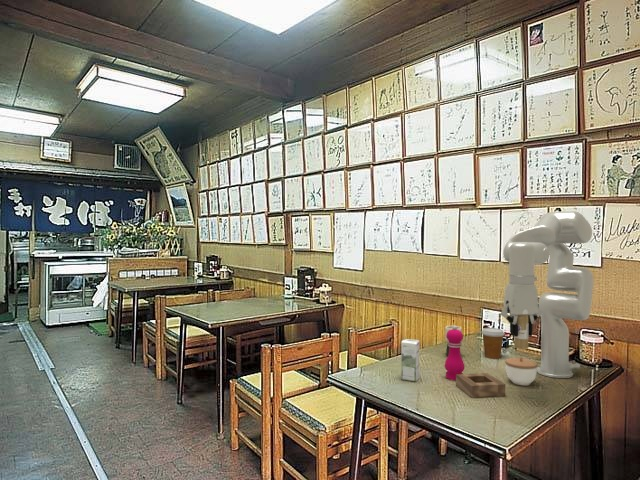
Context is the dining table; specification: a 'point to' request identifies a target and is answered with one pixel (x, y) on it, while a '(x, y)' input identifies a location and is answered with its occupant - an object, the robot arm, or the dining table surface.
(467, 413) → the dining table surface
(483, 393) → the socket block
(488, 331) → the disposable coffee cup
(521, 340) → the sprinkles bottle
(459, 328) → the character mug
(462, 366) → the pepper mill
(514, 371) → the lidded jar
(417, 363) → the syrup box
